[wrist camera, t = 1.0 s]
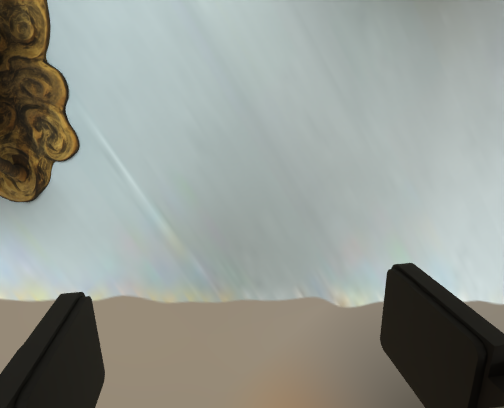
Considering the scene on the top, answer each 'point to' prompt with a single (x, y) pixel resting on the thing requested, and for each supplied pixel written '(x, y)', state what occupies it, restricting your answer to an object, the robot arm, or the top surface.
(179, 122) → the top surface
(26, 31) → the figurine
